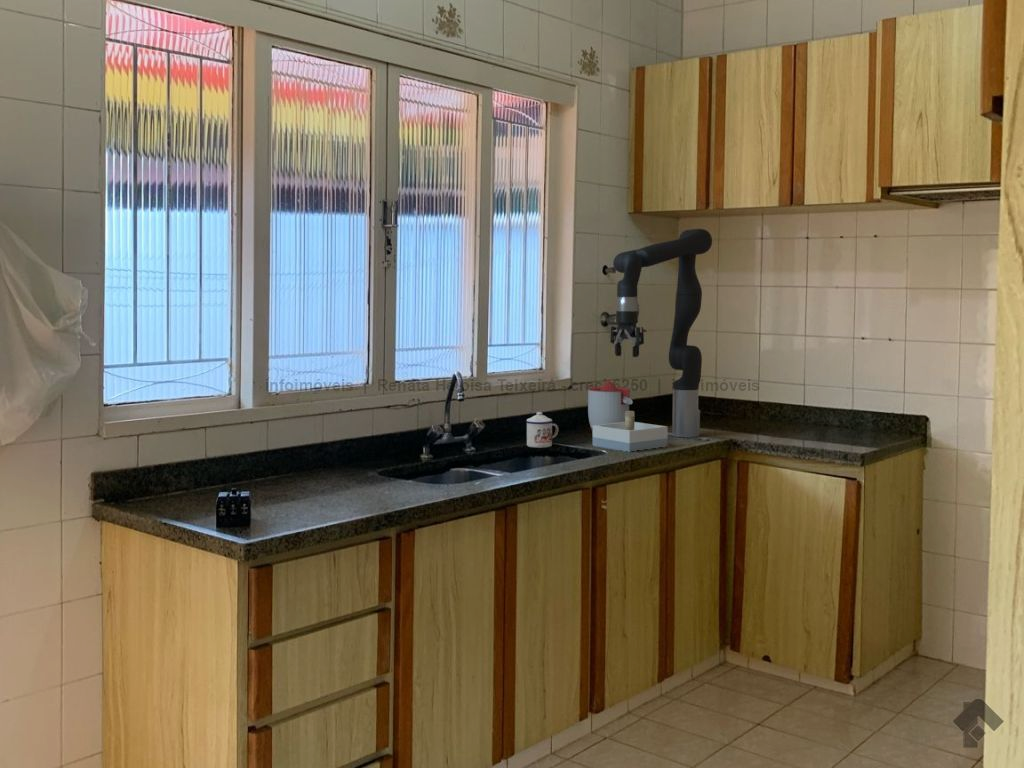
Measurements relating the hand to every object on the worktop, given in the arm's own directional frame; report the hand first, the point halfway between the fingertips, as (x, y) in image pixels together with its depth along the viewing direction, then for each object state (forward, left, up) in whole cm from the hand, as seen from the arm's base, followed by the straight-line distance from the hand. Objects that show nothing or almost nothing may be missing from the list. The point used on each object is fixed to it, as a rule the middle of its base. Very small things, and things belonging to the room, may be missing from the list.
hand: (626, 356), depth 364 cm
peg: (+7, +9, -30) cm, 32 cm away
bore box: (+7, +9, -30) cm, 32 cm away
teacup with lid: (+29, -11, -30) cm, 43 cm away
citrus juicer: (-9, -17, -30) cm, 36 cm away
